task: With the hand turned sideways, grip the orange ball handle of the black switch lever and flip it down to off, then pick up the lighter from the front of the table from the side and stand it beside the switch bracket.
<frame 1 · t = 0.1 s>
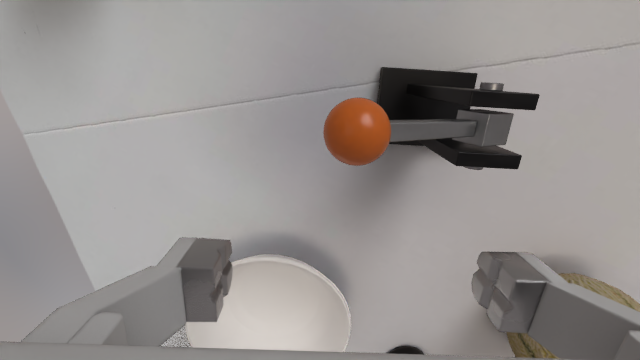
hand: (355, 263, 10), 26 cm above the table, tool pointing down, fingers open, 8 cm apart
cantaloupe: (534, 295, 43), on the table
switch: (425, 129, 19), point 16 cm above the table, hinge at 28.0°
supplement bottle: (403, 359, 46), on the table
bowl: (275, 291, 42), on the table
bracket: (420, 108, 34), on the table
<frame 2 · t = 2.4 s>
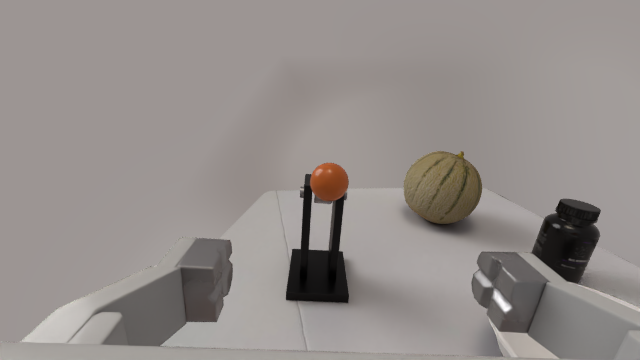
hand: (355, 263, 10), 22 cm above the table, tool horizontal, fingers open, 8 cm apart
cantaloupe: (434, 220, 64), on the table
switch: (326, 188, 33), point 16 cm above the table, hinge at 28.0°
supplement bottle: (552, 273, 48), on the table
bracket: (317, 276, 43), on the table
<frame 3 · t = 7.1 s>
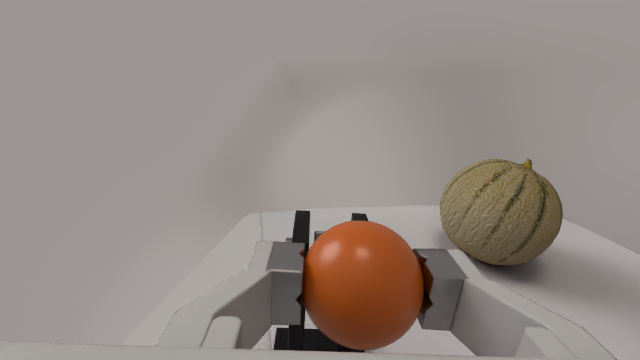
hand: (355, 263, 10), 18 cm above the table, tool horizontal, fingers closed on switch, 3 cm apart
cantaloupe: (483, 256, 45), on the table
switch: (340, 260, 14), point 16 cm above the table, hinge at 28.0°, touching gripper
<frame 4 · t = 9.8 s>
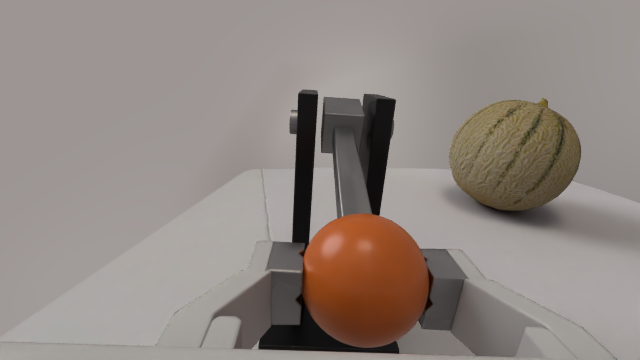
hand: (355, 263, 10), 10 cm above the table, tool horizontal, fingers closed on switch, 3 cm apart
cantaloupe: (494, 206, 43), on the table
switch: (348, 176, 13), point 12 cm above the table, hinge at -14.4°, touching gripper
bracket: (325, 302, 22), on the table
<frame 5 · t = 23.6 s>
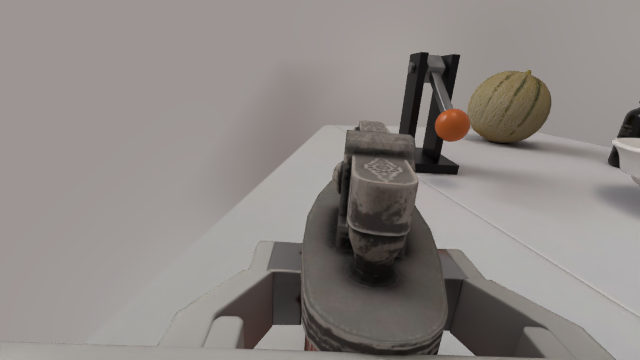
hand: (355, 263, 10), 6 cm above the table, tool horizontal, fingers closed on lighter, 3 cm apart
cantaloupe: (497, 143, 65), on the table
switch: (441, 95, 37), point 10 cm above the table, hinge at -33.5°
supplement bottle: (633, 169, 50), on the table
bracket: (415, 162, 44), on the table
when the fingers open (5 cm above the table, at t = 33.0 s): lighter stays where it is, on the table.
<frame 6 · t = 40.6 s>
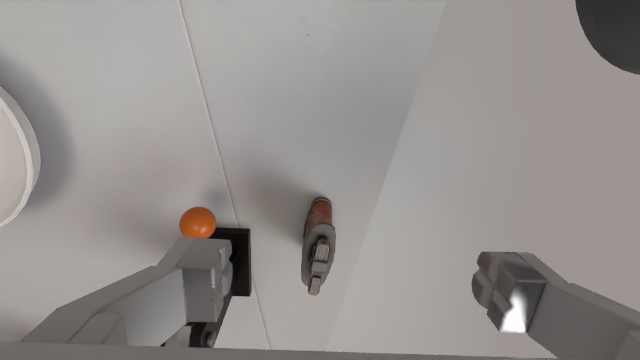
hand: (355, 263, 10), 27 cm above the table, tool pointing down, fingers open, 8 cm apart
switch: (190, 276, 30), point 10 cm above the table, hinge at -33.5°
lighter: (317, 224, 40), on the table
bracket: (221, 259, 41), on the table
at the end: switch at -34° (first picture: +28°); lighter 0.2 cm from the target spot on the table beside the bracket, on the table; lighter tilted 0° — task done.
